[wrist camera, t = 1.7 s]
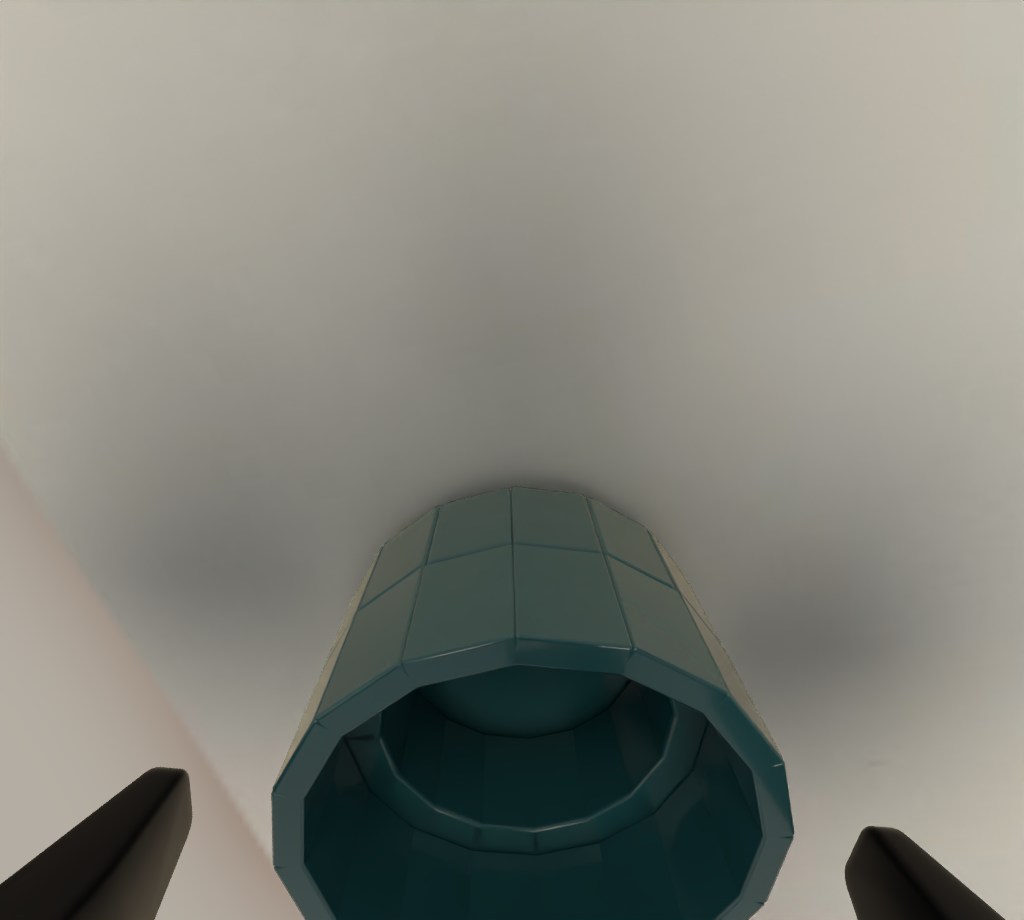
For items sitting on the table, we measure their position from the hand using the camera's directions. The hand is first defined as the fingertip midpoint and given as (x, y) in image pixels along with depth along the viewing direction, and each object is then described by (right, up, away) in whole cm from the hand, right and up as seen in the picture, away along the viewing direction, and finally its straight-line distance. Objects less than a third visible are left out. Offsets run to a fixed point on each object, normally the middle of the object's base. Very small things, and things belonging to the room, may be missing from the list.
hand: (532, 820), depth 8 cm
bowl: (0, +1, +4) cm, 4 cm away
